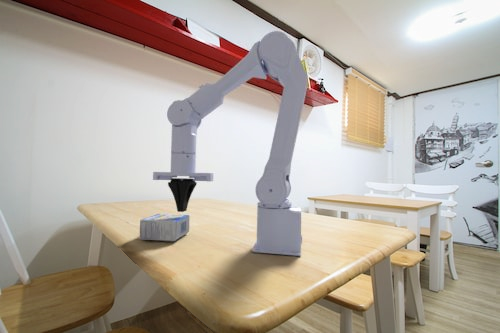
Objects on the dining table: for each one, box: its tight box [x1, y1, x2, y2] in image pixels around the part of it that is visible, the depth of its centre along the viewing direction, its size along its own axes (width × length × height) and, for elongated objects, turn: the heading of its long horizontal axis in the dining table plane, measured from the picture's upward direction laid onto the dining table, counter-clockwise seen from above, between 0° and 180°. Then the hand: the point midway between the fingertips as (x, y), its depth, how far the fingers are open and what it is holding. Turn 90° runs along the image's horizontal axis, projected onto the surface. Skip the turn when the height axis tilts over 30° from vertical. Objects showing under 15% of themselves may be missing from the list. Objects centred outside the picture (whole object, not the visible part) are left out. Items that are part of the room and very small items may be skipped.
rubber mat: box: [155, 233, 188, 243], centre depth 55 cm, size 6×7×1 cm
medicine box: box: [139, 213, 190, 242], centre depth 54 cm, size 8×4×9 cm
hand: (182, 211), depth 54 cm, fingers closed
